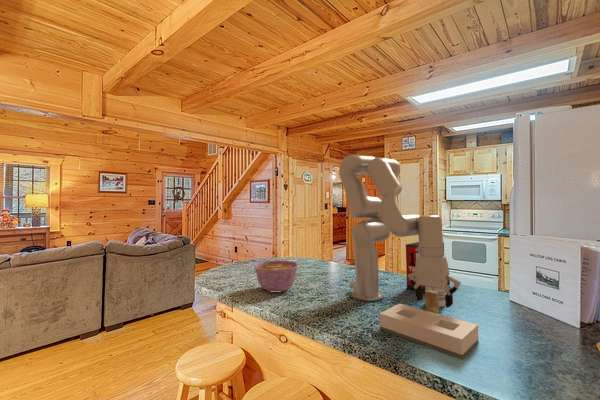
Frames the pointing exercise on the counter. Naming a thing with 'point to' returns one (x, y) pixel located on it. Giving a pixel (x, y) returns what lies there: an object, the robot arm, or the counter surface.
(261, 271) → the bowl of food
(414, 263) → the cleaning product box
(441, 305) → the bath foam
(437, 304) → the oak pin
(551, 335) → the counter surface
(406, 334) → the hole block
